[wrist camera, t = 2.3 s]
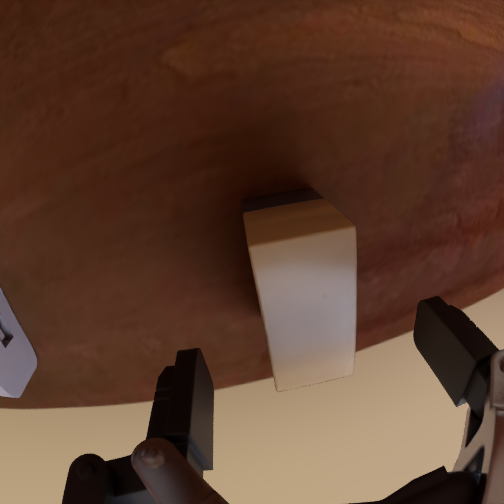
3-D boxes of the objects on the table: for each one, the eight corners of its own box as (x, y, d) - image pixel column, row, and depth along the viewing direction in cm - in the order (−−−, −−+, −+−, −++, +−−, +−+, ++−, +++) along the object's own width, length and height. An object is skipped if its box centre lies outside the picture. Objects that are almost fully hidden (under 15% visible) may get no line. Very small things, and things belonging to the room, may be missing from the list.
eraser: (240, 199, 14) (247, 246, 9) (312, 187, 14) (356, 225, 9) (263, 319, 17) (276, 393, 12) (323, 307, 17) (354, 375, 12)
